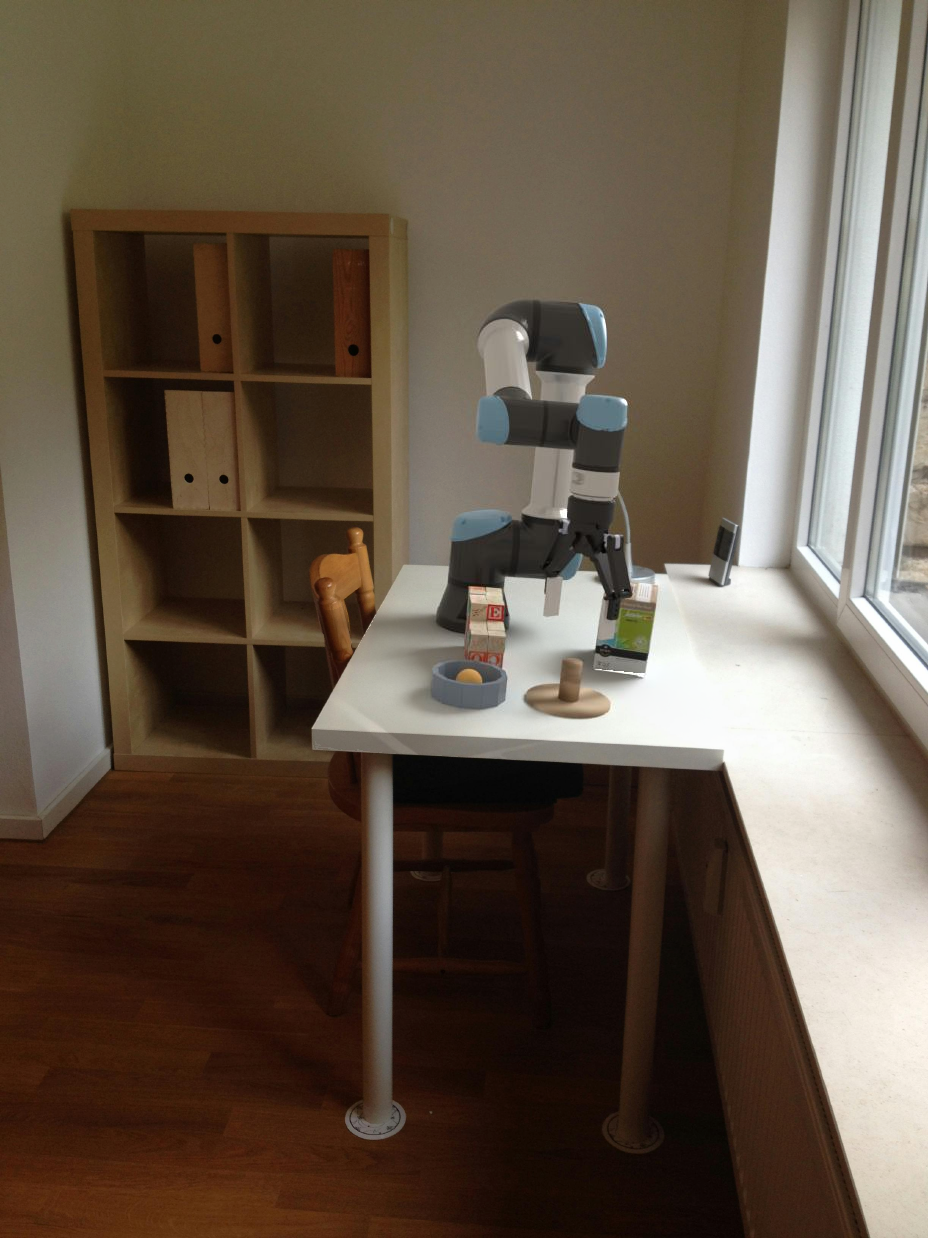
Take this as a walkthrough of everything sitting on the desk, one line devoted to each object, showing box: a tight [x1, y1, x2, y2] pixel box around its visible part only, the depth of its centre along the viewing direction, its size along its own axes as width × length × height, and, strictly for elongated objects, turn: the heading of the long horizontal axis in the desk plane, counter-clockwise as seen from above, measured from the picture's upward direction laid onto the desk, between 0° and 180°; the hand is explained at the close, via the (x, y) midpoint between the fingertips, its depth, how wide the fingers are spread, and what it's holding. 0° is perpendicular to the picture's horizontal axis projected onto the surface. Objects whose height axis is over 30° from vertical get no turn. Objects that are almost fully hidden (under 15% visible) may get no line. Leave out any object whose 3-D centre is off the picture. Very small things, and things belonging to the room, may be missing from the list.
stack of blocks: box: [463, 586, 507, 669], centre depth 186 cm, size 21×6×12 cm, turn 1°
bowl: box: [430, 659, 508, 710], centre depth 169 cm, size 12×12×5 cm
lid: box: [525, 657, 612, 719], centre depth 170 cm, size 14×14×8 cm
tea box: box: [592, 580, 659, 674], centre depth 194 cm, size 15×10×15 cm
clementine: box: [456, 669, 482, 683], centre depth 169 cm, size 4×4×4 cm
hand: (577, 627), depth 167 cm, fingers open, 13 cm apart
